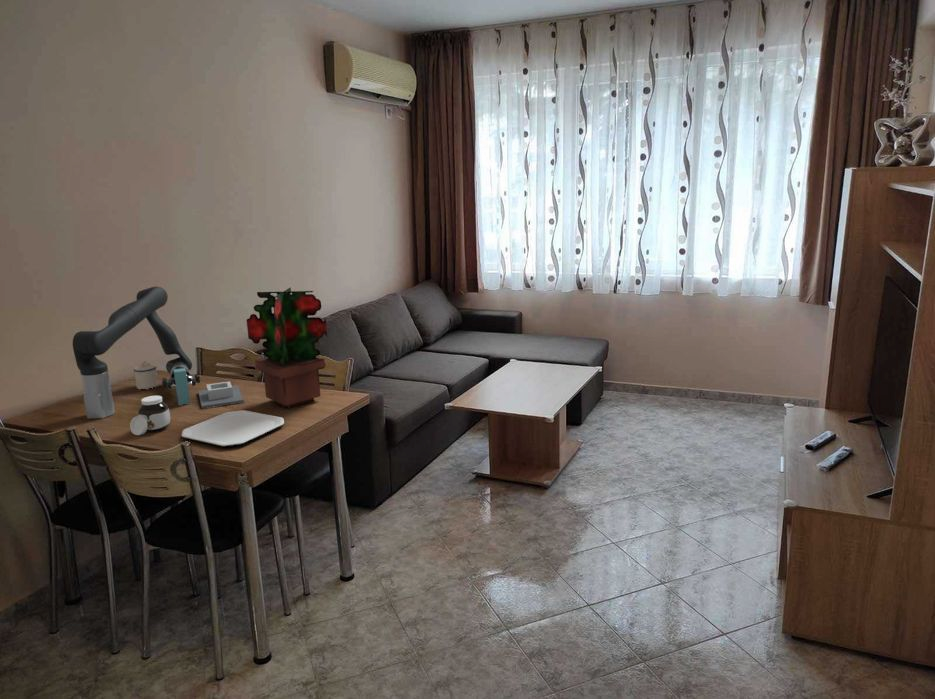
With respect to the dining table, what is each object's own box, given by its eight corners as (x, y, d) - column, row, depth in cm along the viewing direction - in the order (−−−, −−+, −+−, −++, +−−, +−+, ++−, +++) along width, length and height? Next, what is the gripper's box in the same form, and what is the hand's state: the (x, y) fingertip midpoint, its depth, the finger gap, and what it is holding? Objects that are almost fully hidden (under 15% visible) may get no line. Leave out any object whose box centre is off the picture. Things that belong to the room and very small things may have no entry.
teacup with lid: (163, 385, 296) (159, 359, 293) (145, 391, 289) (141, 365, 286) (145, 382, 302) (141, 357, 299) (127, 387, 294) (123, 362, 291)
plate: (173, 439, 234) (172, 433, 234) (235, 413, 259) (235, 408, 259) (233, 453, 221) (232, 447, 221) (293, 424, 246) (292, 419, 245)
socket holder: (243, 402, 271) (242, 390, 269) (201, 408, 264) (200, 396, 263) (237, 387, 290) (236, 376, 289) (198, 393, 284) (196, 381, 282)
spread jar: (174, 424, 248) (169, 394, 245) (162, 435, 237) (157, 404, 234) (140, 425, 248) (136, 395, 245) (127, 437, 237) (122, 406, 234)
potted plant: (332, 400, 271) (323, 290, 259) (282, 414, 256) (271, 298, 244) (303, 389, 286) (294, 285, 275) (255, 401, 271) (243, 292, 260)
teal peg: (190, 403, 271) (185, 370, 267) (178, 405, 269) (174, 372, 265) (189, 400, 274) (185, 368, 271) (178, 402, 273) (173, 369, 269)
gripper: (160, 368, 279) (161, 378, 265) (197, 364, 284) (199, 373, 270) (163, 386, 281) (163, 396, 266) (199, 381, 286) (201, 391, 272)
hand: (181, 385), depth 268 cm, fingers open, 8 cm apart
